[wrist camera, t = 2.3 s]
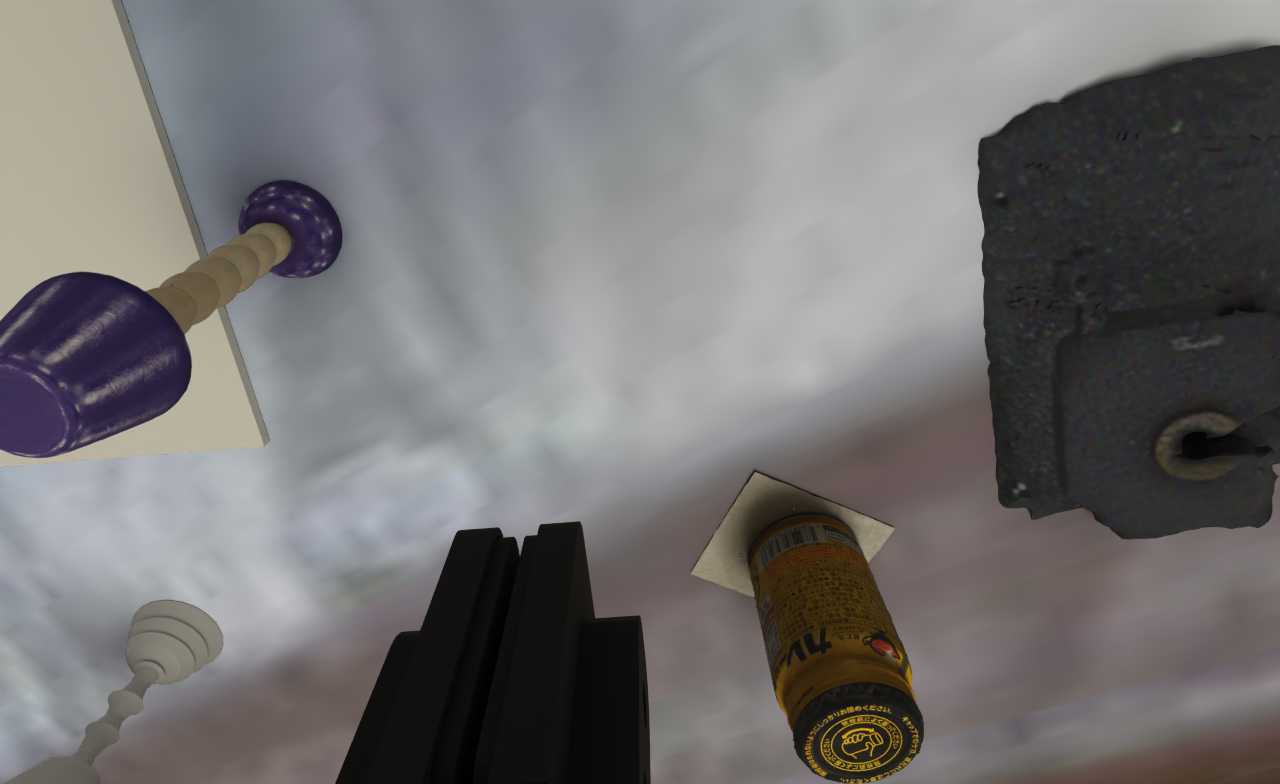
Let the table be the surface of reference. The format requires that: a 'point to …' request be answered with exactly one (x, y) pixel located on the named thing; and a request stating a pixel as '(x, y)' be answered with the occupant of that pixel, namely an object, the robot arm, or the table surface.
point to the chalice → (138, 682)
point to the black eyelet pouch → (1139, 299)
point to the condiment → (822, 627)
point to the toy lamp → (140, 328)
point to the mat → (105, 205)
